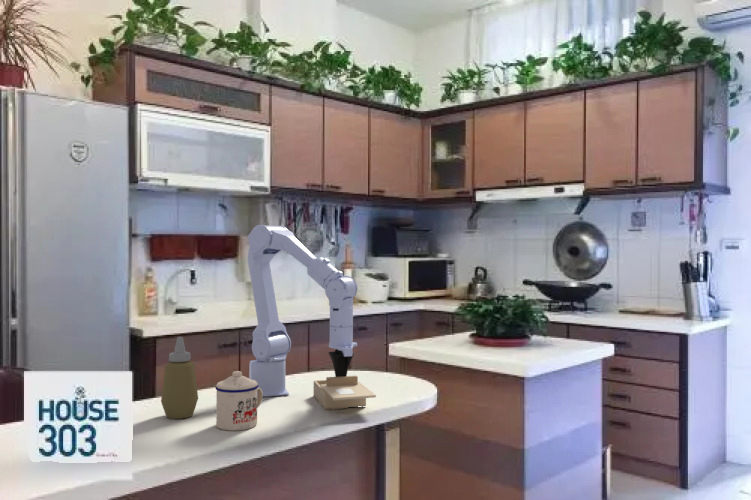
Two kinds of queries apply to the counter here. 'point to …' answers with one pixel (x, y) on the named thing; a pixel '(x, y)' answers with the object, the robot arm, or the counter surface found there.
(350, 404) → the box
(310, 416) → the counter surface
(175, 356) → the squeeze bottle
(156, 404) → the counter surface
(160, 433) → the counter surface
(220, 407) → the teacup with lid
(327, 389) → the lid
